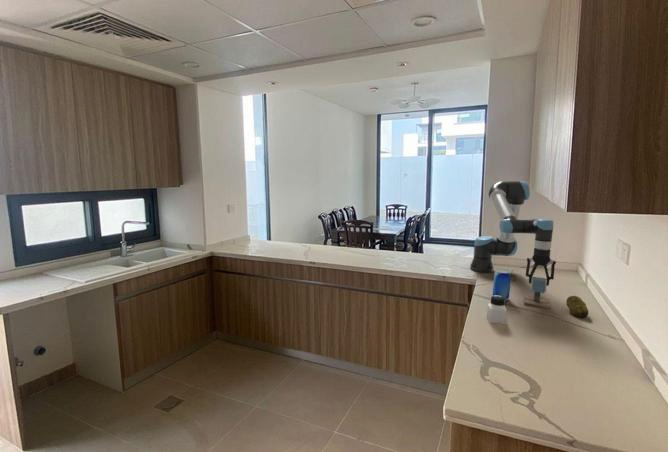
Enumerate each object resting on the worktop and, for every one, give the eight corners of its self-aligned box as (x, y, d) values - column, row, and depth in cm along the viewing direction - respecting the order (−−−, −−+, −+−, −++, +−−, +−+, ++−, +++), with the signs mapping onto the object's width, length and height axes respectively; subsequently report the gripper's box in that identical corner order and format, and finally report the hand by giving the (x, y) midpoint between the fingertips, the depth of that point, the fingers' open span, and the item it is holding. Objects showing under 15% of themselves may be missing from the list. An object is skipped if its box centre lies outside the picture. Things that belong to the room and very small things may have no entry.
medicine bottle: (505, 324, 168) (508, 300, 166) (489, 322, 170) (491, 299, 168) (502, 317, 175) (504, 294, 173) (486, 316, 177) (488, 293, 175)
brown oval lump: (568, 317, 176) (570, 301, 174) (564, 307, 187) (566, 293, 186) (588, 320, 173) (590, 304, 171) (583, 310, 184) (585, 295, 183)
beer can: (505, 295, 203) (508, 268, 200) (511, 301, 195) (513, 273, 192) (490, 295, 204) (492, 268, 201) (495, 301, 196) (497, 273, 193)
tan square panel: (523, 297, 201) (524, 286, 200) (548, 300, 196) (549, 289, 195) (524, 304, 191) (525, 293, 190) (550, 308, 186) (551, 296, 185)
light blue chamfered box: (531, 288, 196) (532, 276, 195) (543, 289, 193) (544, 278, 192) (532, 291, 191) (533, 279, 190) (544, 293, 188) (545, 281, 187)
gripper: (522, 248, 189) (518, 289, 193) (564, 251, 181) (559, 295, 185) (522, 245, 195) (518, 285, 199) (562, 248, 187) (557, 290, 191)
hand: (537, 290), depth 192 cm, fingers closed on light blue chamfered box, 6 cm apart
